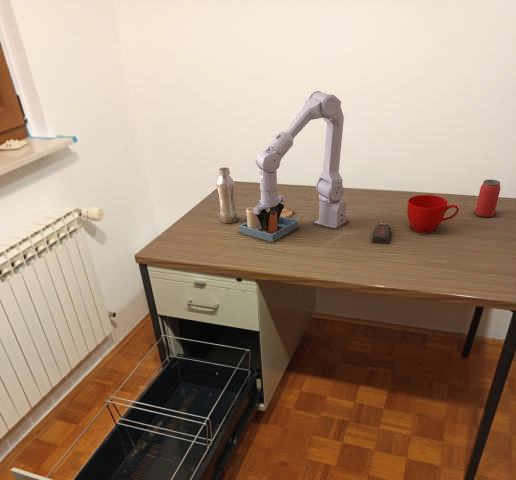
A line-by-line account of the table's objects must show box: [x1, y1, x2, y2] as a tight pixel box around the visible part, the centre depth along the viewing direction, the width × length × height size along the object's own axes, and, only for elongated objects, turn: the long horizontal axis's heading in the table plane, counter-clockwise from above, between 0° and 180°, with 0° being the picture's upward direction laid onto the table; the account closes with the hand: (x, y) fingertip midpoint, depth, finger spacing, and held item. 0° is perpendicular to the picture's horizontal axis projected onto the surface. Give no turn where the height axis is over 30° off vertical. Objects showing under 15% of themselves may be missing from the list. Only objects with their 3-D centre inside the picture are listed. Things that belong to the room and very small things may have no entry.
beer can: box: [474, 179, 501, 218], centre depth 178 cm, size 7×7×12 cm
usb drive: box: [372, 223, 392, 244], centre depth 170 cm, size 5×12×3 cm, turn 164°
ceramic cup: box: [406, 194, 459, 234], centre depth 170 cm, size 13×17×10 cm
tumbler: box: [263, 210, 278, 234], centre depth 172 cm, size 5×5×8 cm
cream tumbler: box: [245, 206, 261, 229], centre depth 176 cm, size 5×5×8 cm
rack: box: [238, 216, 299, 242], centre depth 178 cm, size 15×15×3 cm
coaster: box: [280, 208, 294, 218], centre depth 191 cm, size 9×9×1 cm
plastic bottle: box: [216, 167, 238, 224], centre depth 182 cm, size 6×7×20 cm
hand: (270, 227), depth 173 cm, fingers closed on tumbler, 5 cm apart
